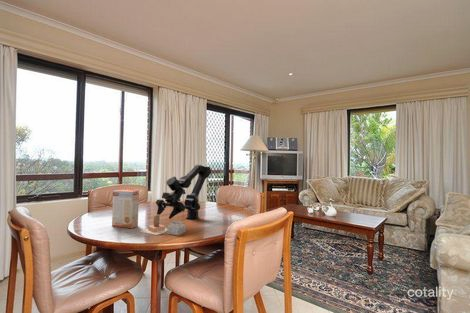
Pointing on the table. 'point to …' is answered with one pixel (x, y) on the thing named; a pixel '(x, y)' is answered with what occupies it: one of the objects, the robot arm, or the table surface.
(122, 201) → the cracker box
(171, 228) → the grey rock
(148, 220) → the table surface
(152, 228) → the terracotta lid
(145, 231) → the cream mat
